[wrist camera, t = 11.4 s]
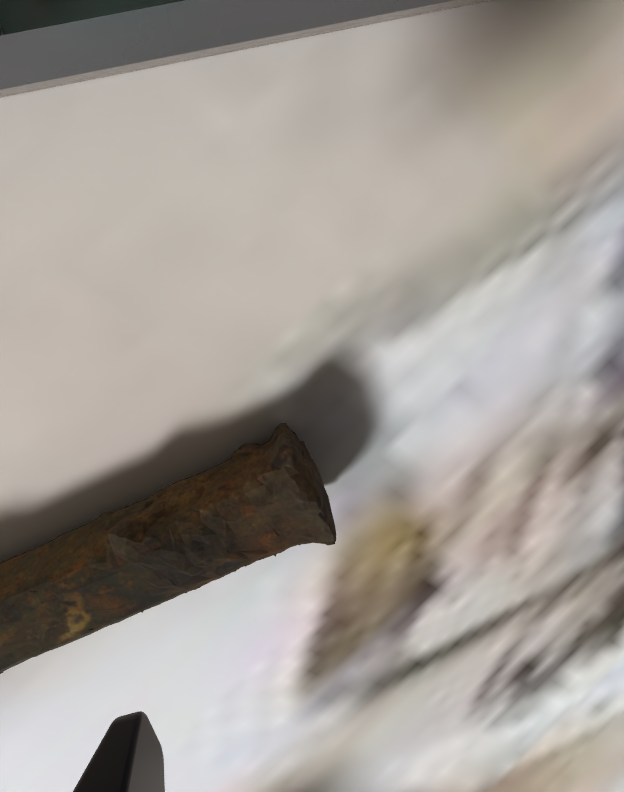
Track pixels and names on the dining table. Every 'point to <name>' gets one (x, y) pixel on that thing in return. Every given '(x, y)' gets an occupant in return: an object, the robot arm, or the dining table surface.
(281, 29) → the grey block with hole
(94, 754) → the robot arm
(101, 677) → the dining table surface
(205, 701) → the dining table surface
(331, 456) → the dining table surface
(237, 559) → the hand tool
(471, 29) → the dining table surface
